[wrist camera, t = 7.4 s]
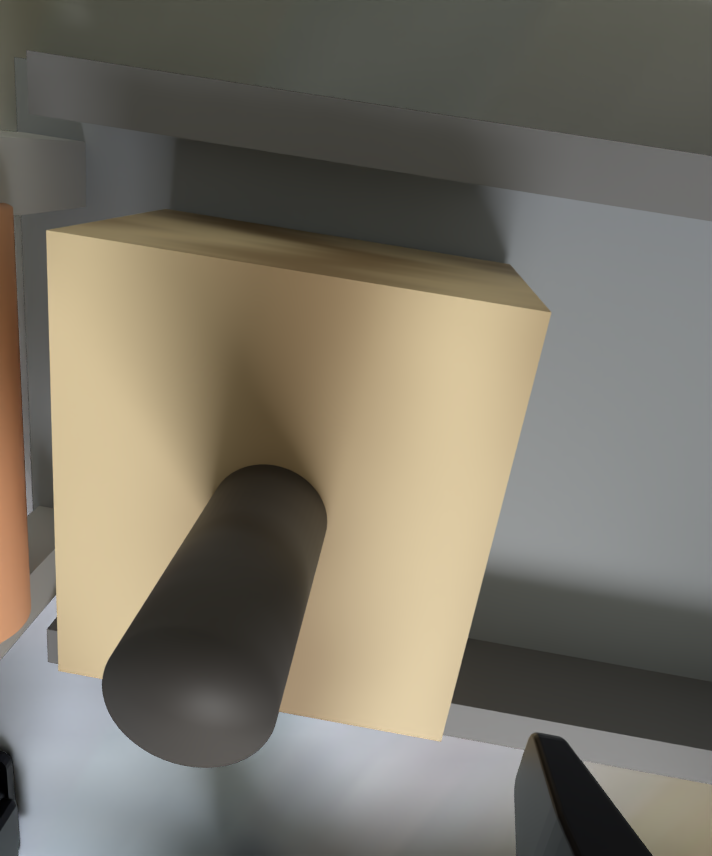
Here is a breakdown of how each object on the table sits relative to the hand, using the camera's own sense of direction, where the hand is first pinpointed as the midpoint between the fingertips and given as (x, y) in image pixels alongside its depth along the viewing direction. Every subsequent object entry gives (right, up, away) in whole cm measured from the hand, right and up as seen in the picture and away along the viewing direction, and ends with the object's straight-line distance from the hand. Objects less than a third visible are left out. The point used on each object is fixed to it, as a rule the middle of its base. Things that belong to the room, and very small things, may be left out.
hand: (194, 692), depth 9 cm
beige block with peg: (+1, +4, +10) cm, 11 cm away
